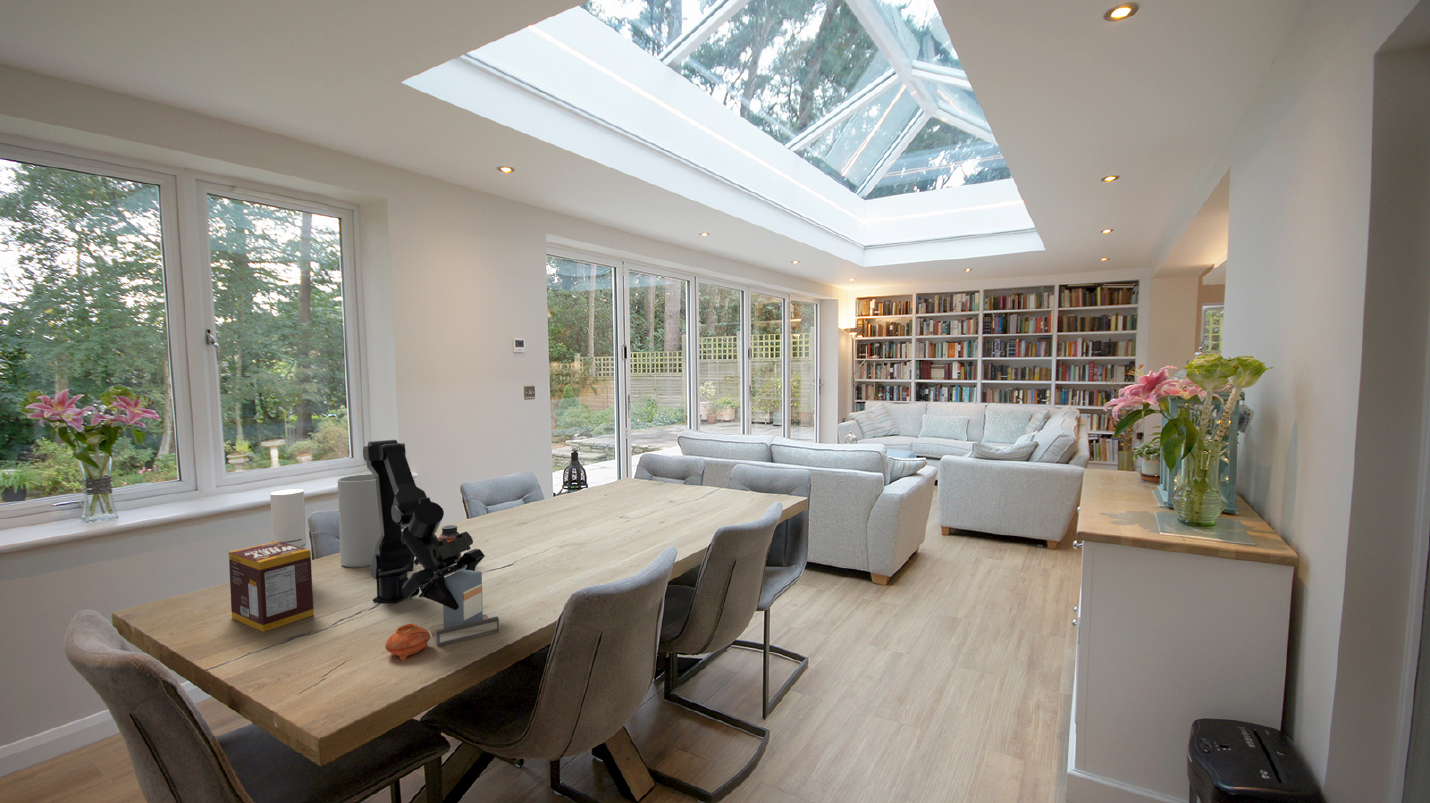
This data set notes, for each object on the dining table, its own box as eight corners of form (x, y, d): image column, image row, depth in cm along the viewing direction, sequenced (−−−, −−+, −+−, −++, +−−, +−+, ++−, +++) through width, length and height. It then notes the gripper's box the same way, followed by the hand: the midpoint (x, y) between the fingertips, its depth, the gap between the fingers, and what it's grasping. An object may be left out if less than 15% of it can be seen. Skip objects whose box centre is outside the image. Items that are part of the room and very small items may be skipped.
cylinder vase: (374, 568, 171) (371, 481, 170) (330, 568, 171) (327, 481, 170) (397, 554, 184) (395, 474, 182) (357, 554, 184) (354, 474, 182)
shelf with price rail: (428, 631, 130) (428, 613, 130) (486, 618, 137) (485, 601, 136) (438, 651, 121) (437, 632, 120) (499, 636, 127) (498, 618, 127)
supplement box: (281, 602, 146) (278, 539, 146) (314, 615, 139) (311, 549, 138) (230, 617, 137) (227, 551, 137) (262, 632, 130) (259, 561, 129)
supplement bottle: (452, 569, 170) (451, 529, 170) (434, 567, 172) (433, 528, 171) (465, 562, 176) (464, 524, 176) (447, 561, 177) (446, 523, 177)
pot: (429, 661, 116) (418, 630, 115) (386, 675, 114) (375, 643, 113) (438, 642, 124) (429, 612, 123) (399, 654, 122) (389, 624, 121)
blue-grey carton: (443, 633, 126) (442, 578, 126) (464, 622, 132) (463, 569, 131) (463, 637, 125) (462, 581, 124) (483, 625, 130) (482, 571, 130)
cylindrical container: (268, 588, 155) (263, 493, 154) (296, 579, 162) (292, 488, 161) (286, 592, 153) (281, 495, 151) (314, 583, 159) (310, 490, 158)
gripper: (410, 534, 120) (456, 595, 117) (477, 513, 137) (518, 565, 134) (382, 569, 123) (425, 629, 120) (450, 543, 140) (490, 595, 137)
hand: (468, 602), depth 128 cm, fingers closed on blue-grey carton, 6 cm apart
